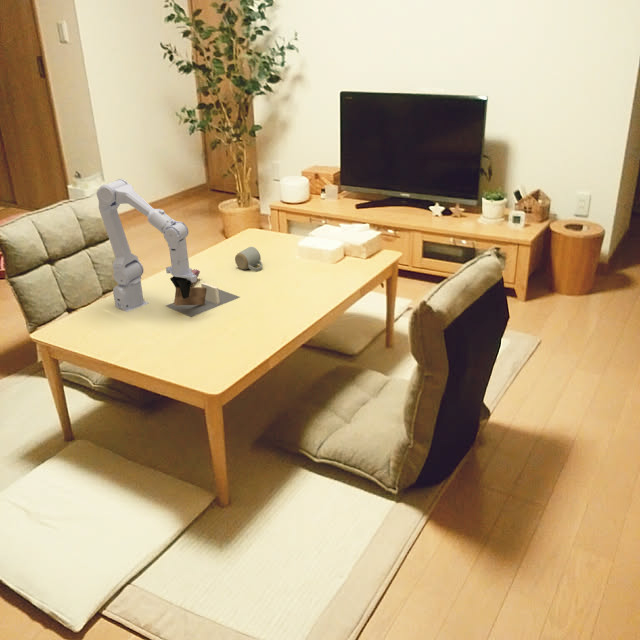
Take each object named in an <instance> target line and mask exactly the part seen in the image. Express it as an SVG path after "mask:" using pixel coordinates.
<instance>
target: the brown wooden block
mask: <svg viewBox="0 0 640 640" xmlns="http://www.w3.org/2000/svg"><path fill="white" fill-rule="evenodd" d="M206 290H207V288H205V287H201V286H195V287H194V286H191V287H190V292H189V297H188V298H185V299H184V298H183V297H182V293H181V289H180V287H176V288H175V294H174V301H173V303H174V305H204V304H205V297H206Z"/></svg>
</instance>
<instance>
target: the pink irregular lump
mask: <svg viewBox="0 0 640 640" xmlns="http://www.w3.org/2000/svg"><path fill="white" fill-rule="evenodd" d="M191 272H192V273H193V274H194V275H196V276H197V278H198V277H199V275H200V273H201V271H200V270H198V269H195V268H194V269H192V271H191ZM194 283H195V282H193V283H192V284H194Z"/></svg>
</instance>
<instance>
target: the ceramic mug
mask: <svg viewBox="0 0 640 640" xmlns="http://www.w3.org/2000/svg"><path fill="white" fill-rule="evenodd" d="M261 258H262V257H261V254H260V251H259V250H258V249H257V248H256V247H254V246H249V247H247V248H245V249H243V250H241V251H240V252H238V253H237V254H236V255H235V257H234V259H235V260H234V261H235V264H236V266H237V268H239V269H241V270H251V271H254V272H259V271H261V270H262V269H263V263H262V261H261V260H262V259H261ZM257 265H259V266H260V267H255V266H257Z"/></svg>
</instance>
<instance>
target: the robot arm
mask: <svg viewBox="0 0 640 640" xmlns="http://www.w3.org/2000/svg"><path fill="white" fill-rule="evenodd" d="M96 196H97V200H98V210H99V213H100V216H101V218H102V219H101V220H102V222H103V225H104V227H105V228H104V229H105V231H106V233H107V236H108V239H109V242H110V245H111V248H112V251H113V254H114V257H115V259H114V260H113V263H112V270H113V273H112V274H113V279H114V280H115V282H116V283H117V285H115V286H114V287H113V289H112V293H113V294H112V295H113V299H114V307H115V308H118V309H119V310H122V311H124V312H129V311H132V310H135V309H138V308H141V307H143V306H146V305H148V304H150V302H148V301H146V300H144V295H143V293H144V292H143V288H142V287H143V286H142V281H141V280H142V276H143V274H144V272H145V271H144V266H143V264H142V263H141V262H140V260H139V258H138V256H137V255H135V254H134V253H132V251H131V248H130V246H129V242H128V239H127V236H126V234H125V230H124V227H123V223H122V221H121V217H120V215H119V211H118V208H119V207H120V205H121V204H123V205H124V204H125V205H126V204H128V205H129V206H131V207H132V208H134V209H136V210H137V211H138V212H139V213H141V214H142V215H143V216H146V218H147V221H148V223H149V224H150V225H152V227H154V228H155V229H156V230H158V232H160V233H162V234H163V238H164V240H165V241H166V243H167V247H168V249H169V256H170V264H171V266H168V267H165V270H166V274H171V277H170V278H169V280H170V281H171V282H172V284H173V286H174V288H175V289H176V287H180V289H181V293H182V297H183V298H184V299H185V298H188V297H189V292H190V287H192V284H194V283H196V282H197V281H198V277H197V276H196V275H194V274H193V273H192V272H191V271H192V270H193V269H192V268H191V267H190V262H189V256H188V255H189V254H188V247H187V246H188V245H187V237H188V235H189V228H188V226H187V224H185V223H184V221H177V220H175V219H174V218H172V217H171V216H169V215H168V214H167V213H166V211H165V210H164V209H161V208H154V207H152V205H150V204H149V203H148V202H147V201H146V200H145V199H144V198H143V197H142V196H141V195H139V194H138V193H137V192H136V191H135V190H134V187H133V185H132V184H131V183H129V182H127V180H125V179H123V178H119V179H116V180H115V181H112V182H110V183H107V184H103V185H101V186H100V187H99V188H98V189H97V191H96ZM193 282H194V283H193Z"/></svg>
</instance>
